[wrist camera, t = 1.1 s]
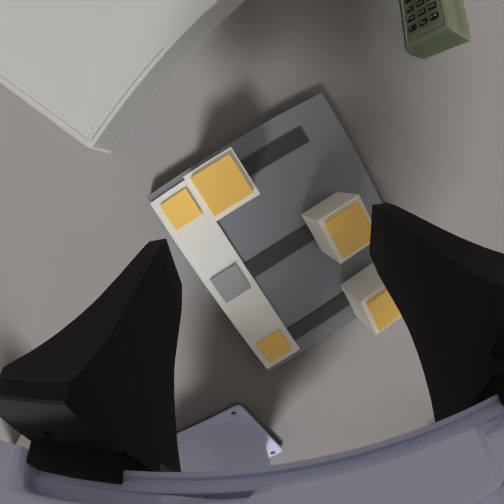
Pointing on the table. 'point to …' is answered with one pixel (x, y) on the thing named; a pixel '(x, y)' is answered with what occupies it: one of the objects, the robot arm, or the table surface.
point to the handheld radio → (433, 26)
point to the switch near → (221, 185)
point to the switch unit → (276, 232)
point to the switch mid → (340, 225)
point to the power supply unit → (99, 57)
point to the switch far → (371, 299)
